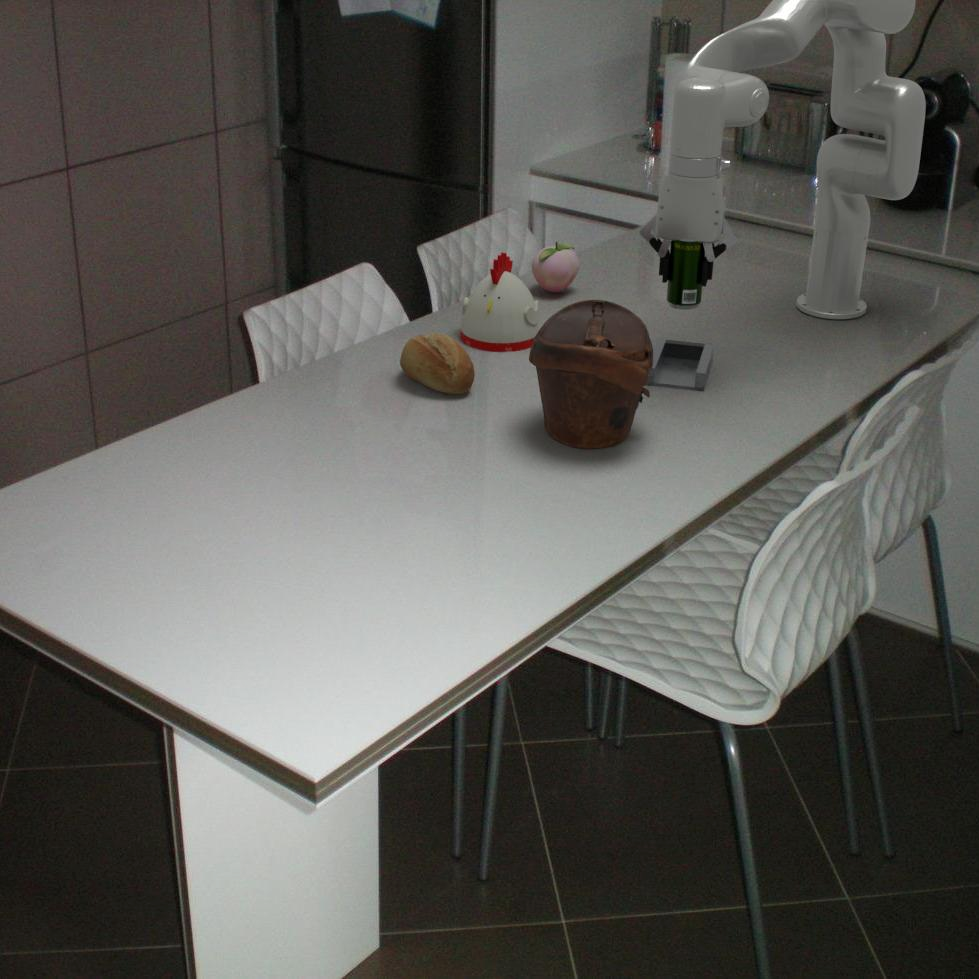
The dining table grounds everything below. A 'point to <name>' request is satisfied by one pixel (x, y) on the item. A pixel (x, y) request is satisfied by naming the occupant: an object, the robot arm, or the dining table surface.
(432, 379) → the bread roll
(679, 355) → the grey tray
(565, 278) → the decorative fruit
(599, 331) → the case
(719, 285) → the dining table surface
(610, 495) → the dining table surface
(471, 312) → the kitchen timer
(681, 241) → the beer can
